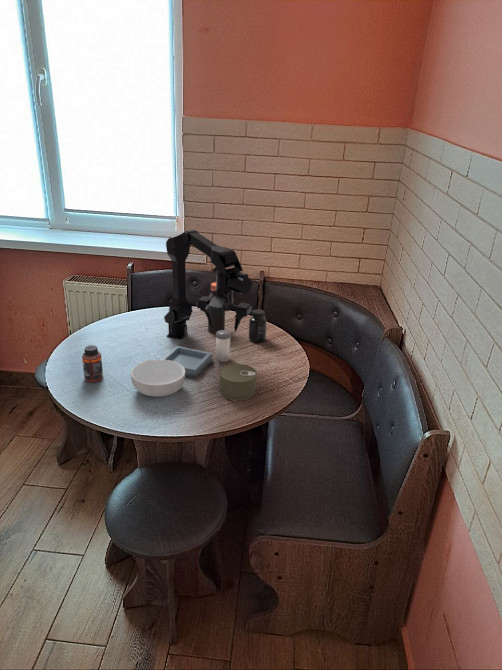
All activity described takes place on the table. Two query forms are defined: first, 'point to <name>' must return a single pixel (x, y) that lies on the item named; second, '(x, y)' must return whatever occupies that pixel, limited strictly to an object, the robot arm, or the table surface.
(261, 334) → the supplement bottle
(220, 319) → the vinegar
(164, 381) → the cereal bowl
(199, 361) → the tray
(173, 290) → the robot arm
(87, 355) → the supplement bottle
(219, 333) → the shaker
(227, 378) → the can
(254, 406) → the table surface
